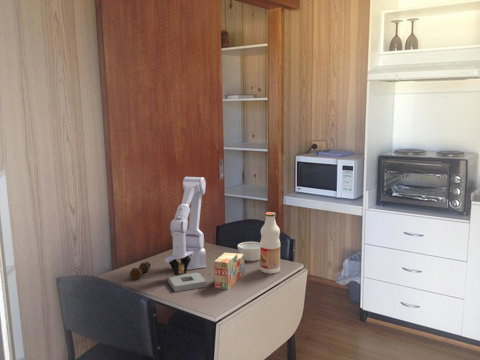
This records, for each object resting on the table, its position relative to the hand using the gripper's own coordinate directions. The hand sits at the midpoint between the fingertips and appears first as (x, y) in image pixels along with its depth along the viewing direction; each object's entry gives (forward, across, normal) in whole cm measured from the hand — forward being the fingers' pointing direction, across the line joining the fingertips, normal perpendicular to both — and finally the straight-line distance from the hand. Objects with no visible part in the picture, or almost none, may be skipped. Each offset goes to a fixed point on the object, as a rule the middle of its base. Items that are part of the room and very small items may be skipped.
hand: (179, 274), depth 197 cm
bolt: (+2, +9, -17) cm, 20 cm away
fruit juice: (+2, -36, +22) cm, 43 cm away
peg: (+2, 0, 0) cm, 2 cm away
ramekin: (+2, -43, +2) cm, 43 cm away
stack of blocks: (+2, -15, +18) cm, 23 cm away
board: (+2, +2, +8) cm, 9 cm away
